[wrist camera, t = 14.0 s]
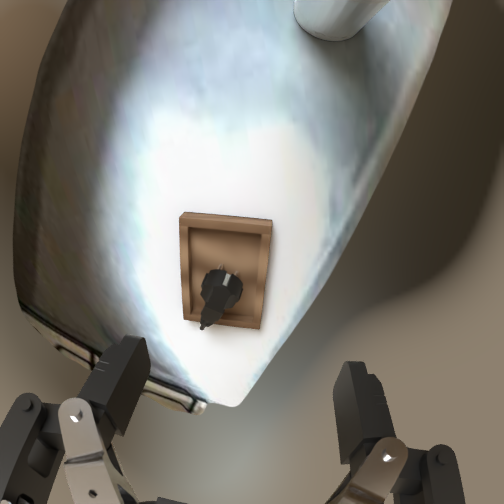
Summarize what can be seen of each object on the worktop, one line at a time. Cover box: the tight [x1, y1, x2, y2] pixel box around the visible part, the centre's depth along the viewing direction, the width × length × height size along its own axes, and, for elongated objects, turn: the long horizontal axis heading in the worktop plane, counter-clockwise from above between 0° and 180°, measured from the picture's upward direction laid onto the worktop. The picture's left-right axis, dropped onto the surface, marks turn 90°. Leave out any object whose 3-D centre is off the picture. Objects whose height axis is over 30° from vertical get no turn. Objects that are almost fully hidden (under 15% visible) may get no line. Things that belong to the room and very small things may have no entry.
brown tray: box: [179, 212, 272, 329], centre depth 42 cm, size 17×12×2 cm
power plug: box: [200, 263, 243, 330], centre depth 42 cm, size 6×8×12 cm
